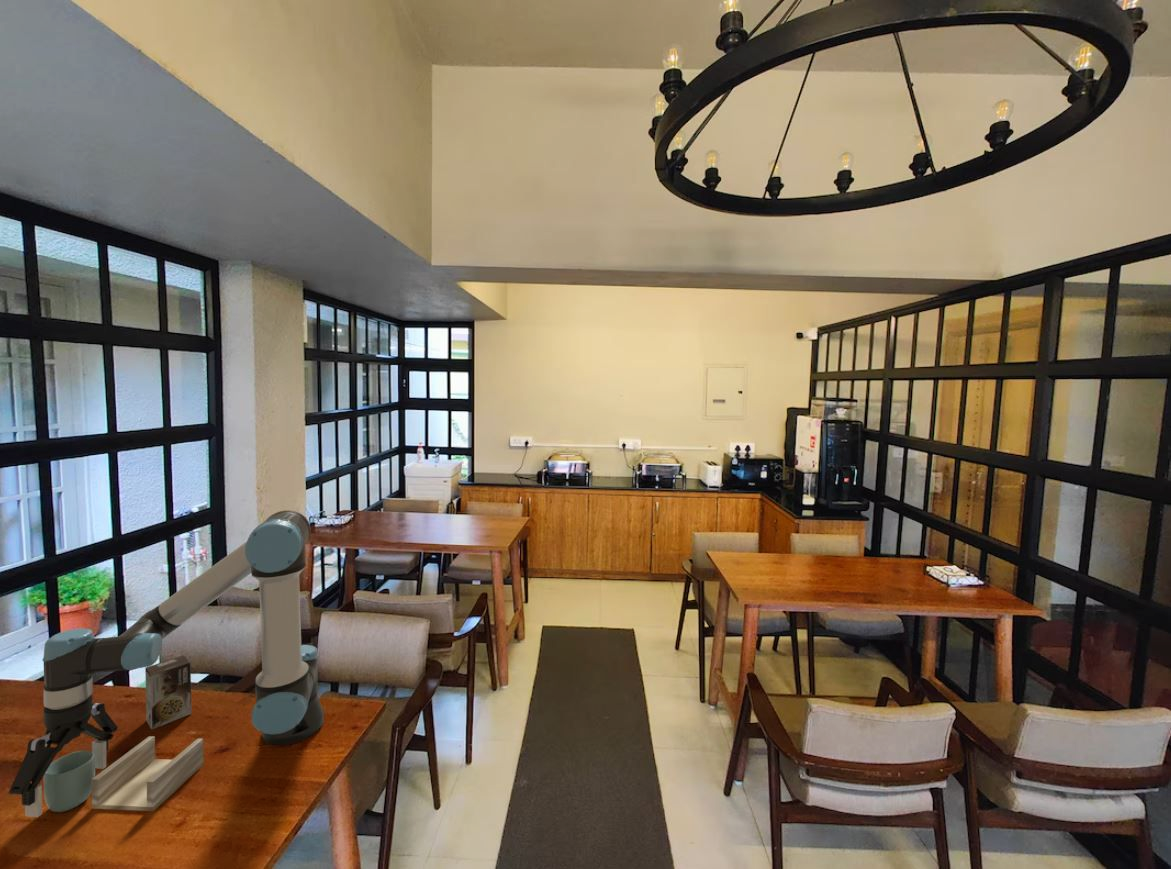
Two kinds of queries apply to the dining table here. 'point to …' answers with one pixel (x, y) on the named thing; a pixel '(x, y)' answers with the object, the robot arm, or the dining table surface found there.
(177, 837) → the dining table surface
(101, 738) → the robot arm
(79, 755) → the cup
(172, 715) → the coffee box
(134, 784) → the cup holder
